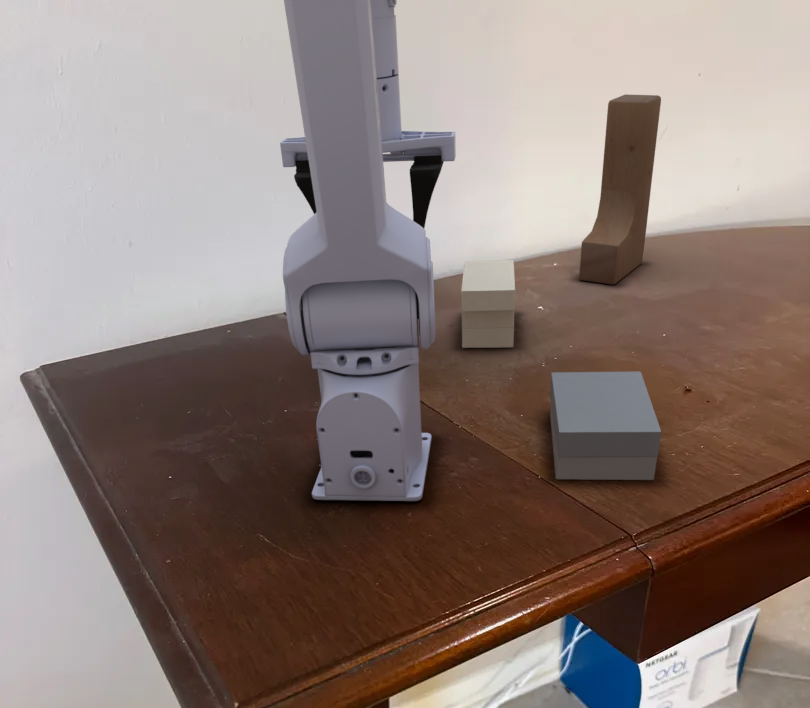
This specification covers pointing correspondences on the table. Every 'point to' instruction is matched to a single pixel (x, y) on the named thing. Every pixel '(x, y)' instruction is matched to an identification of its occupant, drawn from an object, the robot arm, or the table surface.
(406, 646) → the table surface
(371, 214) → the robot arm
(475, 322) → the white book
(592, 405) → the grey book
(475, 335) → the white book
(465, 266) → the beige rectangular block
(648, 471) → the grey book
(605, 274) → the wooden block
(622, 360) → the table surface
